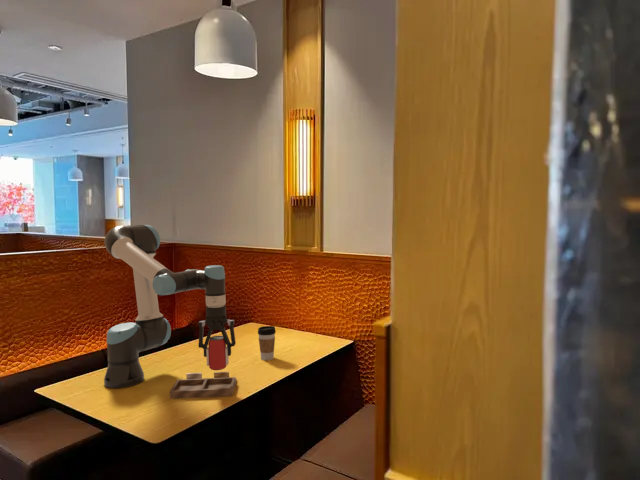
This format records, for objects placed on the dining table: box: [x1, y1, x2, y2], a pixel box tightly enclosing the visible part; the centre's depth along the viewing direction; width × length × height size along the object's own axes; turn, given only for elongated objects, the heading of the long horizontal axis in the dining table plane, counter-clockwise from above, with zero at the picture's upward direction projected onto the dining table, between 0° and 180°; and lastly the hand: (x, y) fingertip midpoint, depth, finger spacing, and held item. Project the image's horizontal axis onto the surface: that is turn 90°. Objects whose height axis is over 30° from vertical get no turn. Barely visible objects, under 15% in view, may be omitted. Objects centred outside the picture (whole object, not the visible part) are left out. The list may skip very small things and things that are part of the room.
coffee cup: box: [257, 325, 277, 361], centre depth 211 cm, size 8×8×15 cm
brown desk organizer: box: [169, 371, 238, 400], centre depth 175 cm, size 23×16×4 cm
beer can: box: [207, 335, 228, 371], centre depth 173 cm, size 7×7×12 cm
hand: (217, 364), depth 173 cm, fingers closed on beer can, 6 cm apart
